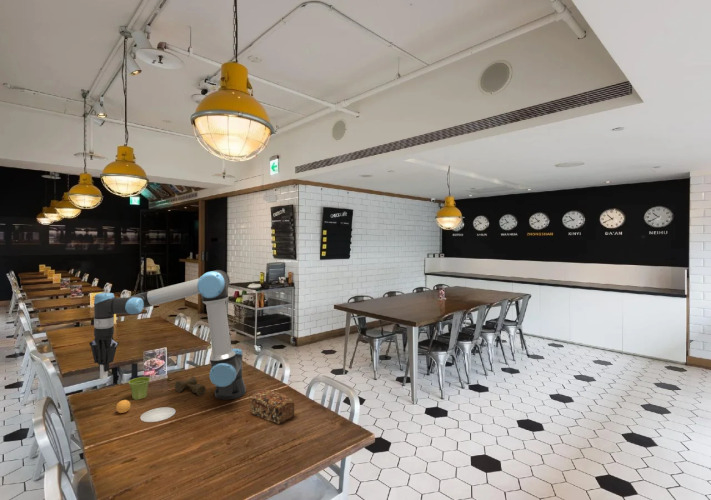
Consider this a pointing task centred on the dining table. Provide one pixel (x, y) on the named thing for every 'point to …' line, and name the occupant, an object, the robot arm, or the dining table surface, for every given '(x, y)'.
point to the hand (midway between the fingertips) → (103, 378)
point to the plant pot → (139, 387)
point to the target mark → (157, 414)
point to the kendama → (190, 386)
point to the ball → (123, 406)
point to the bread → (272, 406)
